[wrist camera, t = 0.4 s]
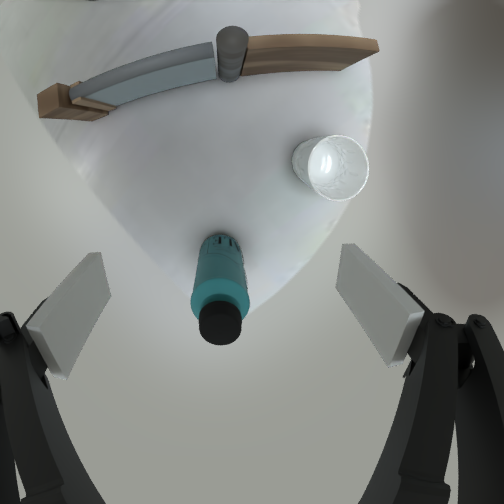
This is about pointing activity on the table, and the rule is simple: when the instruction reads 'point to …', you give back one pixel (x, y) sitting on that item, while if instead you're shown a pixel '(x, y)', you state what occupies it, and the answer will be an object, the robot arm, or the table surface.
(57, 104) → the gate frame
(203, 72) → the gate panel
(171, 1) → the table surface
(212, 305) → the beverage bottle
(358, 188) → the white cup
